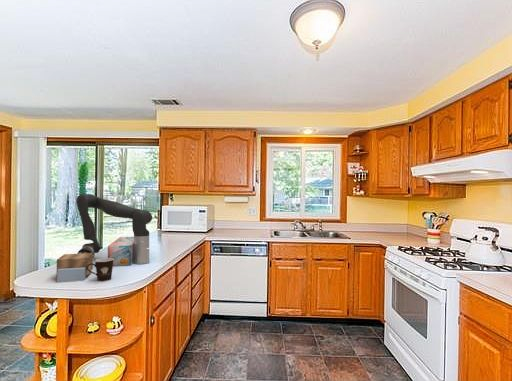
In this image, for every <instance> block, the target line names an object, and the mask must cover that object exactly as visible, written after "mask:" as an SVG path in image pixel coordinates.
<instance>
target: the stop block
mask: <svg viewBox="0 0 512 381" xmlns="http://www.w3.org/2000/svg"><path fill="white" fill-rule="evenodd" d="M56 279H57V283H63V282H64V283H65V282H77V281H78V282H79V281H81V282H82V281H85V280H86V276H85V267H83V268H66V269H58V270H57V269H56Z"/></svg>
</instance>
